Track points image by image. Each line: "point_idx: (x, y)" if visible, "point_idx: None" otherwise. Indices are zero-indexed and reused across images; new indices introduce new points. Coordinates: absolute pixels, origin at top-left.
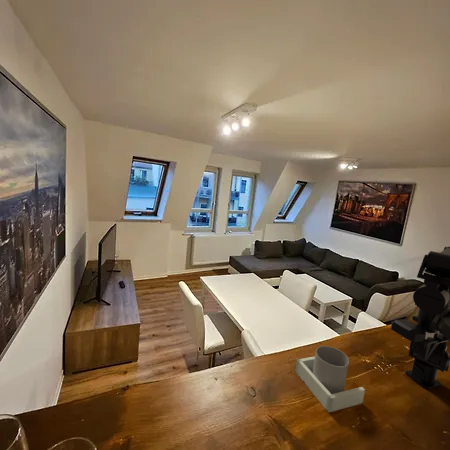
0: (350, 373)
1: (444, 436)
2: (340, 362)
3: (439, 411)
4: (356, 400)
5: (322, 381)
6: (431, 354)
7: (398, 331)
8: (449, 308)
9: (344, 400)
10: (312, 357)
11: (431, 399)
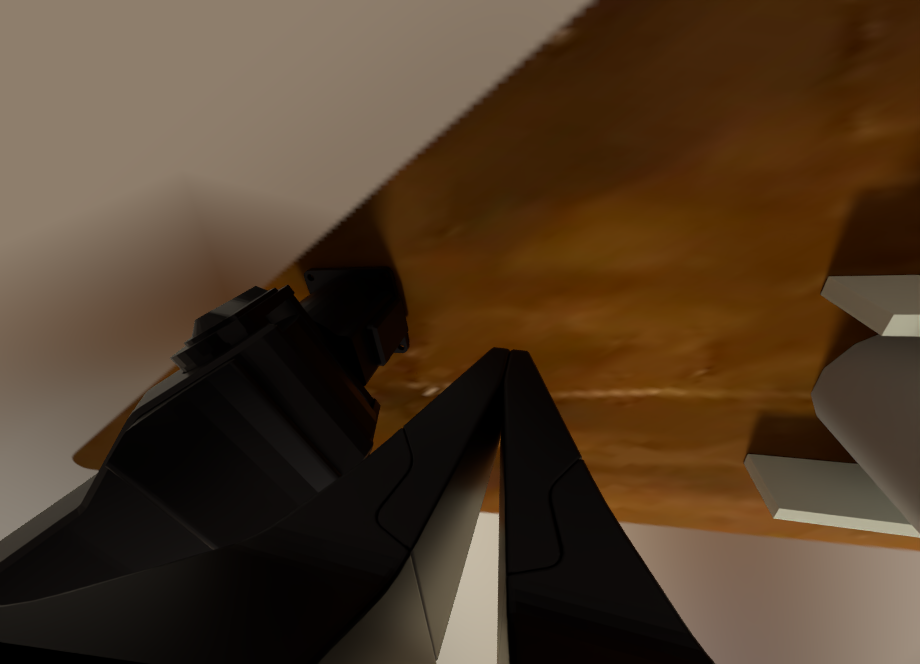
0: (666, 407)
1: (595, 2)
2: (916, 492)
3: (451, 155)
4: (914, 286)
5: None
6: (303, 379)
7: None
8: None
9: None
10: (894, 530)
11: (422, 220)
